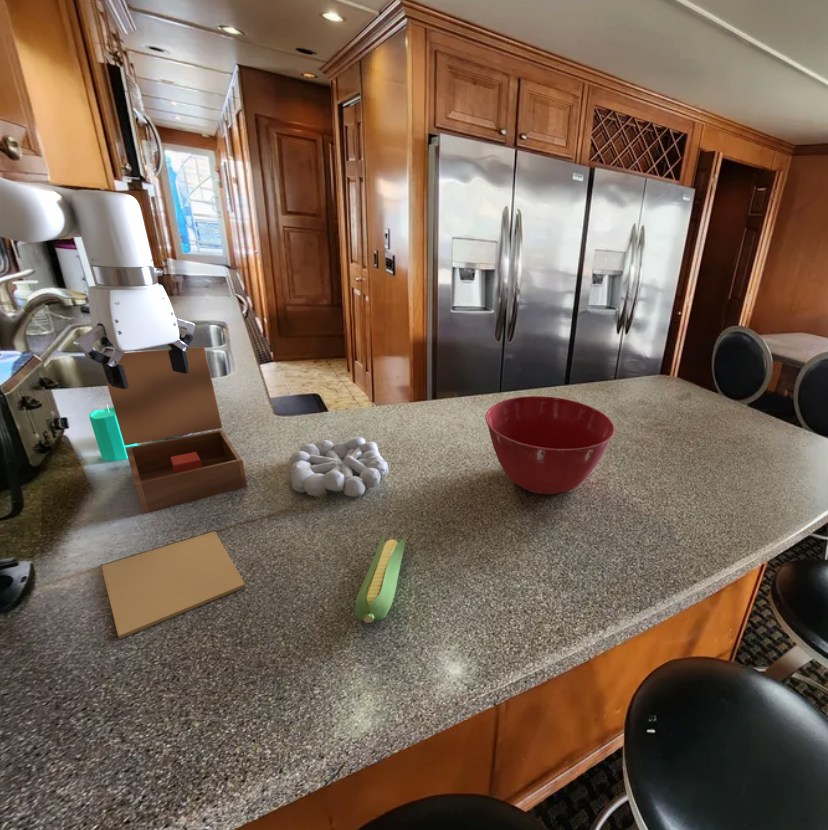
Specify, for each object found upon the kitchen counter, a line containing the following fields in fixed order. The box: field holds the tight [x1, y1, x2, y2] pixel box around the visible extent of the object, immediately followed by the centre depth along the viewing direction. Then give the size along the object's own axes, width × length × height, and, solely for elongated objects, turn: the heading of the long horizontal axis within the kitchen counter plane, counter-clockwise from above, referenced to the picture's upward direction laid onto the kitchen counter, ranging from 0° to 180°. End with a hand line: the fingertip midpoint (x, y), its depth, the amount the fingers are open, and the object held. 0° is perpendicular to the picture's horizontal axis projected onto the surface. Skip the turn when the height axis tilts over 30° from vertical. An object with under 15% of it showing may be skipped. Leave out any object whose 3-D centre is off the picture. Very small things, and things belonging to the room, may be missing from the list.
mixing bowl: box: [485, 395, 616, 495], centre depth 103 cm, size 28×28×16 cm
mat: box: [100, 530, 247, 640], centre depth 69 cm, size 20×14×1 cm
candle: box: [88, 404, 139, 462], centre depth 95 cm, size 6×6×12 cm
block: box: [170, 452, 202, 474], centre depth 89 cm, size 4×4×5 cm
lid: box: [101, 346, 223, 445], centre depth 91 cm, size 17×16×1 cm
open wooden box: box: [125, 429, 248, 515], centre depth 89 cm, size 17×16×7 cm
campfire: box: [289, 436, 389, 498], centre depth 97 cm, size 22×21×6 cm
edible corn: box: [354, 533, 407, 624], centre depth 71 cm, size 5×20×5 cm, turn 8°
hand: (152, 379), depth 79 cm, fingers open, 9 cm apart
